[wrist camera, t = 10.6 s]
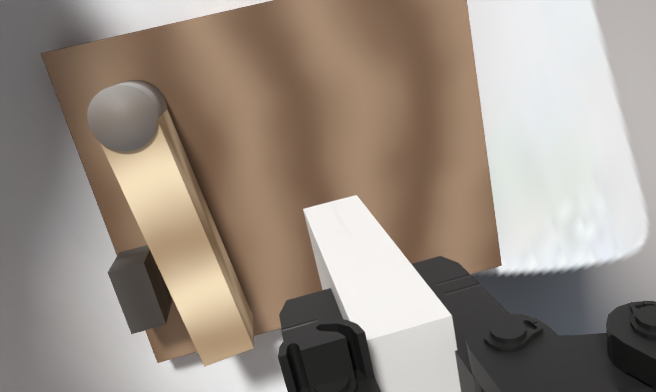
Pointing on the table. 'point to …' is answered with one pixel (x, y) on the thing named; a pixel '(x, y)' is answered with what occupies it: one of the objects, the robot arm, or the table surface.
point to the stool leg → (173, 216)
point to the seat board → (296, 140)
